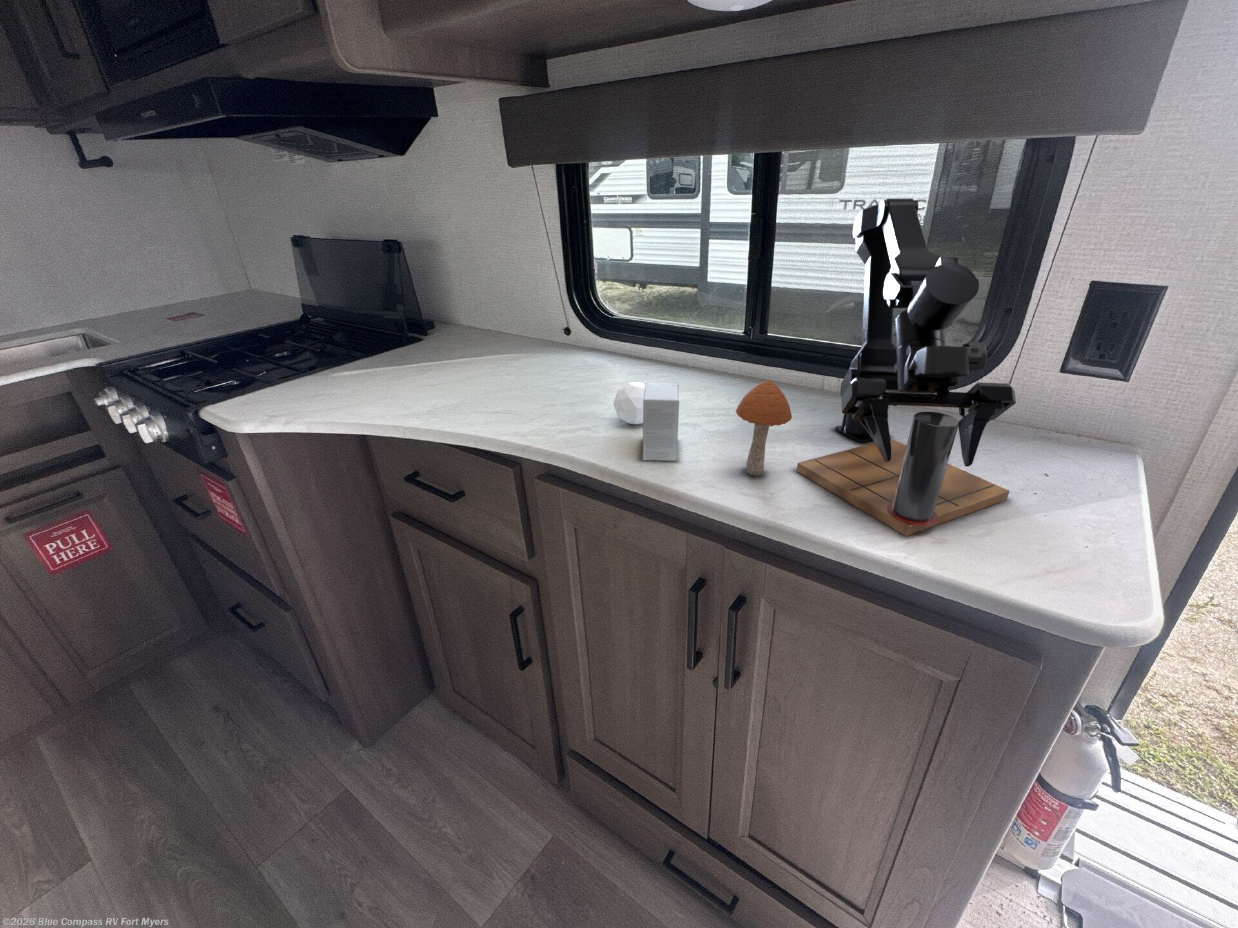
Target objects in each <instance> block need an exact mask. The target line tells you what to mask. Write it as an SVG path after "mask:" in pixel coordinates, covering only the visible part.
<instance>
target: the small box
mask: <svg viewBox="0 0 1238 928" xmlns="http://www.w3.org/2000/svg"><path fill="white" fill-rule="evenodd" d="M679 418H680V384H679V383H662V382H661V383H659V382H658V383H657V382H656V383H654V382H646V383H645V392H644V400H643V423H642V460H643V461H662V462H676V461H677V459H678V458H677V457H678V440H679V439H678V438H679Z"/></svg>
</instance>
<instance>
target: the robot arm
mask: <svg viewBox="0 0 1238 928" xmlns="http://www.w3.org/2000/svg"><path fill="white" fill-rule="evenodd" d="M918 213H919V201H918V199H914V198H910V197H908V198H907V197H906V198H886V199H885V200H883V199H882V200H881V201H880V202H879V203H877V204H875V205H872V206H869V207H866V208H864V209H862V210H861V211H860V212H859V213H858V214H857V215H856V217H855V219H854V222H853V227H852V237H853V239H855V252H856V254H857V256H858V257H859V258H860V260H861V261H862V263H863V264H864V283H863V284H864V286H863V308H862V309H863V310H862V332H861V333H862V335H861V348H860V349H859V350H858V352H857V354H856V355H855V356H854V358H853V359H852V360H851V362H850V367H849V368H848V370H847V372H846V373H845V375H844V377H843V379H842V381H841V383H840V389H839V396H840V398H841V413H842V414H843V417H842V423H841V425H838V426H835V427H834V431H835V432H838V433H840V434H842V435H844V436H846V437H849V438H850V439H853V440H854V441H857V442H859V443H867V442H868V443H869V442H871V441H873V443H875V444H876V446H877V448H878V450H879V452H880V453H881V455H882V457H883V459H884V461H885V462H889V461H890V460H891V441H890V439H891V434H890V426H889V406H893V407H897V406H905V407H906V406H907V407H928V408H929V407H931V408H933V407H934V408H953V409H958V414H959V415H960V416H961V419H960V420H958V421H959V425H958V433H959V442H960V451H961V459H962V461H963V465H964V467H966V468H969V467H970V466H973V464H974V460H975V457H976V454H977V451H978V447H979V445H980V441H981V438H982V436H983V433H984V430H985V428H986V426H987V424H988V423H990V421H995V420H997V418H999V417H1000V416H1001V415H1003V414H1004V413H1006V411H1008V410H1009V409H1011V408H1012V407H1013V406H1014V405H1016V404H1017V399H1016V391H1015V389H1014V387H1013V386H1011V385H1010V384H1009V383H1003V382H1002V383H1001V382H976V383H975V384H974V385H973V386H972V387H970V389H968V391H967V392H964V391H950V388H951V387H956V386H957V384H959V383H960V379H959V377H962V376H964V377H968V376H970V372H977V371H981V370H984V369H985V368H986V366H987V363H988V362H987V359H988V351H987V346H986V342H985V341H968V342H967V343H963V344H962V346H950V345H946V332H945V331H946V329H948V328H950V327H951V326H953V325H954V323H956V321H957V320H958V319H959V317H960V316H961V315H962V314H963V312H964V311H965V310H966V308H967V307H968V306H969V305H970V304H971V302H972V300H974V298H975V297H976V296H977V295H978V292H979V289H980V280H979V278H977V277H976V275H975V274H974V273H973V272H972V270H971V269H969V268H967V267H966V266H965V265H964V266H963V265H961V264H959V257H957V256H939V255H937V254H935V253H933V252H931V251H930V250H929V248H928V245H927V242H926V238H925V235H924V231H923V228H922V224H921V221H920V218H919V215H918ZM894 309H904V310H903V311H901V312H900V313H899V314H898V315H897V316H896V318H895V319H894ZM893 325H894V326H893ZM893 327H894V328H893ZM893 337H894V339H895V344H894V343H893Z"/></svg>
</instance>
